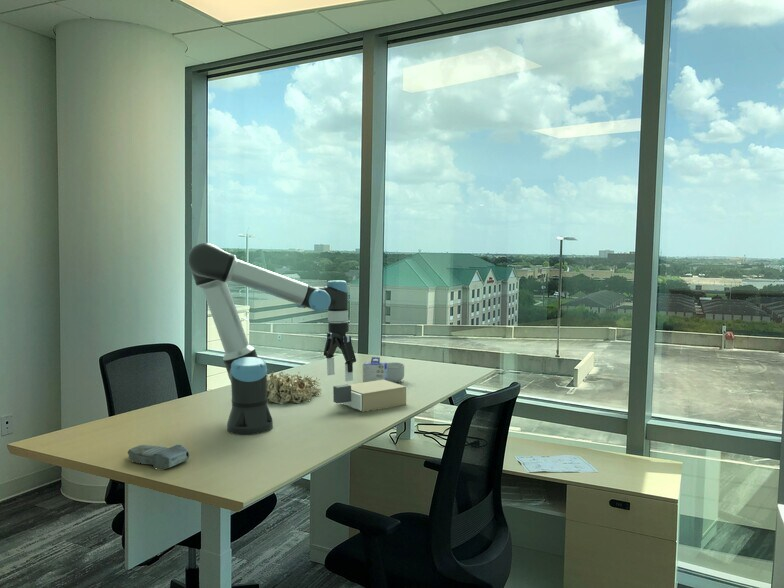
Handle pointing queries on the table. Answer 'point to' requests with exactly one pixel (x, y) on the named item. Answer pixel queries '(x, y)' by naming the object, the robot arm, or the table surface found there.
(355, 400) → the tray
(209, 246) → the robot arm
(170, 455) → the handheld device
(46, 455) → the table surface
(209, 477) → the table surface
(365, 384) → the sleeve
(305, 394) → the dried lichen
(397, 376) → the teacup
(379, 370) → the ink cartridge box
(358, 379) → the table surface
